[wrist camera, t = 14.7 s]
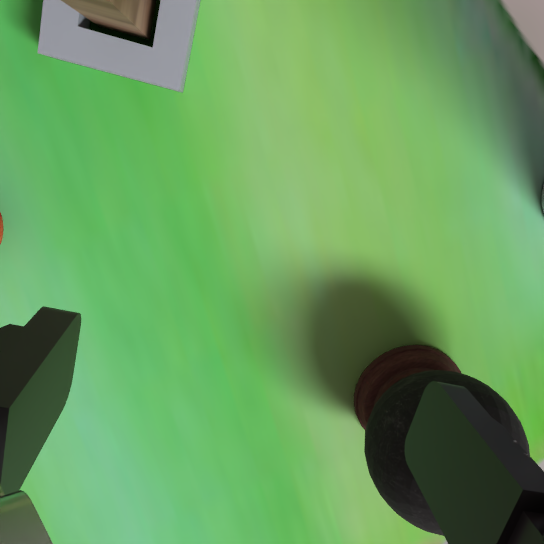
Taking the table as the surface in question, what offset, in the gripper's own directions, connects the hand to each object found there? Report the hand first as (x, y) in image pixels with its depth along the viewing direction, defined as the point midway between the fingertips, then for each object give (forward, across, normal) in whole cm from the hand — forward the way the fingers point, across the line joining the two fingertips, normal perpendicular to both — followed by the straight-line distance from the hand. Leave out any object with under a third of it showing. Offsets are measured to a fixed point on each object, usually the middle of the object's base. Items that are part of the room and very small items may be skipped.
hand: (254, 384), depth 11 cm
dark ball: (+32, -22, +16) cm, 42 cm away
